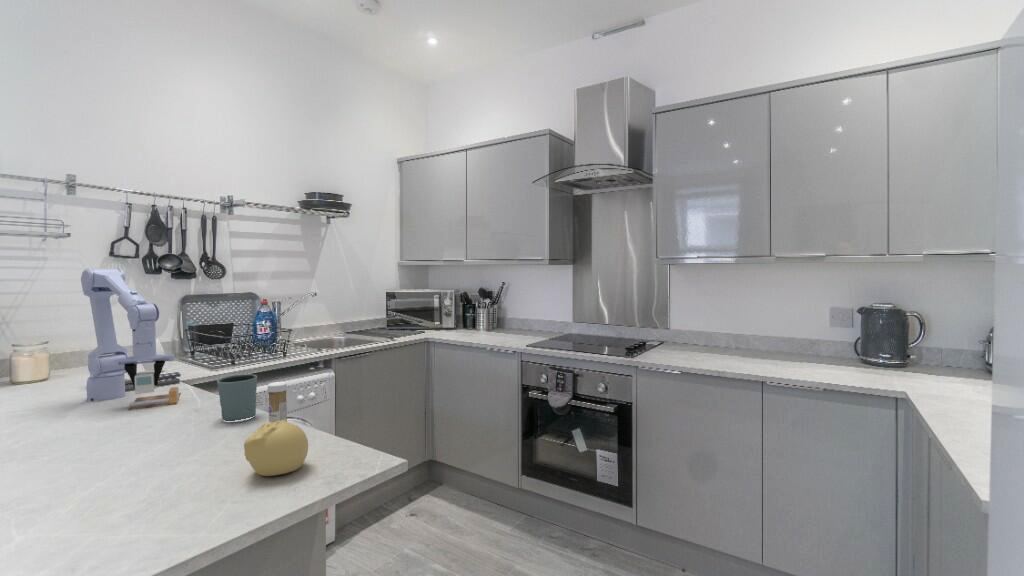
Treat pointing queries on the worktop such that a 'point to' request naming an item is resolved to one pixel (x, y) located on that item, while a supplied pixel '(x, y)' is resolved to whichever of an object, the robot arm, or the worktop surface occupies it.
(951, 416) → the worktop surface
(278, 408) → the sprinkles bottle
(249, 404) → the teal cup
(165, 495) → the worktop surface
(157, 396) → the board
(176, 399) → the rail
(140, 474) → the worktop surface
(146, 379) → the block
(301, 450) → the sculpture
